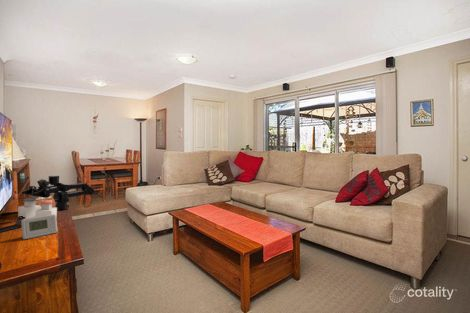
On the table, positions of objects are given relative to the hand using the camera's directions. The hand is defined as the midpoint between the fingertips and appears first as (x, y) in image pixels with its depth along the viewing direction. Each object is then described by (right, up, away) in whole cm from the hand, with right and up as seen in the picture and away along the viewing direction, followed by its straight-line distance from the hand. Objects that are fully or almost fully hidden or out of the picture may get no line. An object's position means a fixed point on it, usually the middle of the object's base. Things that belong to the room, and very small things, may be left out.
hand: (26, 193), depth 170 cm
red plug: (+16, -13, -2) cm, 20 cm away
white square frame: (+15, -17, -2) cm, 23 cm away
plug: (-1, -12, +4) cm, 12 cm away
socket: (-1, -16, +4) cm, 17 cm away
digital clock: (+35, -19, -32) cm, 51 cm away
